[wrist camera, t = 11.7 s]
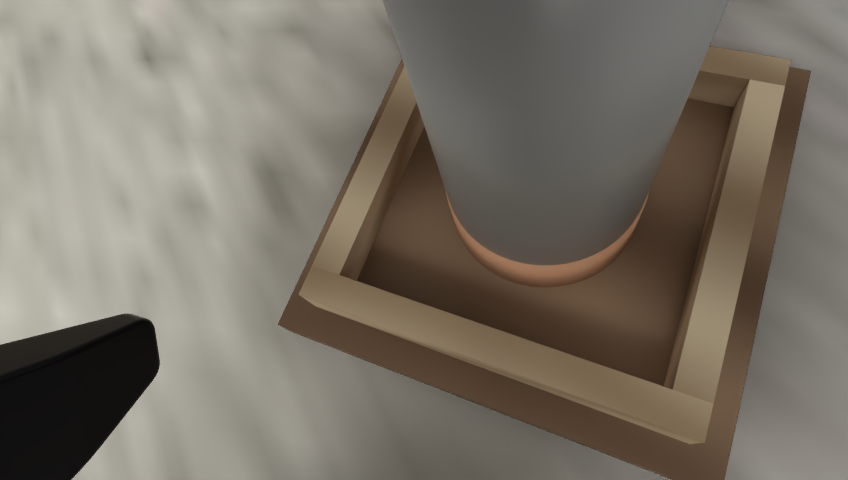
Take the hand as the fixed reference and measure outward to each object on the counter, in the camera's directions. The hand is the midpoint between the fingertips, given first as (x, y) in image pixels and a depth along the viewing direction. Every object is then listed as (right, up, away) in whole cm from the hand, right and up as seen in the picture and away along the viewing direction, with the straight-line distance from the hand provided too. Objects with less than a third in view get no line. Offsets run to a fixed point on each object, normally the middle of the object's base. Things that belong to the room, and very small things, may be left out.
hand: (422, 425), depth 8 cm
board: (+4, +4, +12) cm, 13 cm away
